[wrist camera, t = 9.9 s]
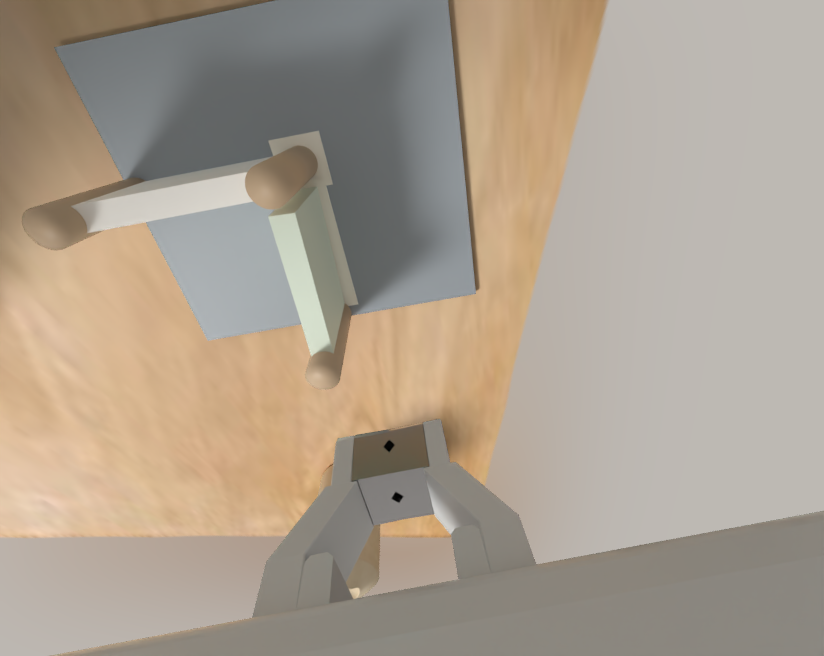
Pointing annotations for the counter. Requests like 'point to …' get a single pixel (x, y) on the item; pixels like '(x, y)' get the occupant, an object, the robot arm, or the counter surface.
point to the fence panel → (313, 284)
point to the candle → (361, 555)
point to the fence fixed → (170, 197)
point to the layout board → (291, 126)
